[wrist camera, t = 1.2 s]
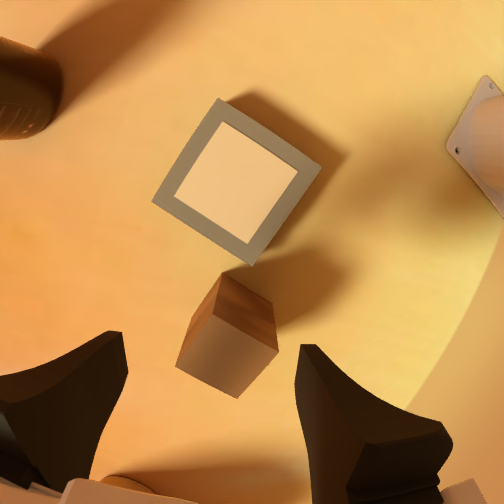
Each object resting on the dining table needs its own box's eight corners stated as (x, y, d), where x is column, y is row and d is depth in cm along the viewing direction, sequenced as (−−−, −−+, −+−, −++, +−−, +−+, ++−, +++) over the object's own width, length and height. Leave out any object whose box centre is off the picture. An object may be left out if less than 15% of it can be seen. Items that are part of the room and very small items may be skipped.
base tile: (315, 166, 19) (322, 167, 17) (251, 256, 21) (252, 267, 19) (221, 103, 18) (217, 97, 16) (160, 197, 20) (150, 201, 18)
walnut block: (272, 303, 22) (278, 351, 16) (239, 344, 23) (237, 398, 17) (222, 272, 21) (212, 314, 16) (192, 316, 22) (175, 366, 16)
